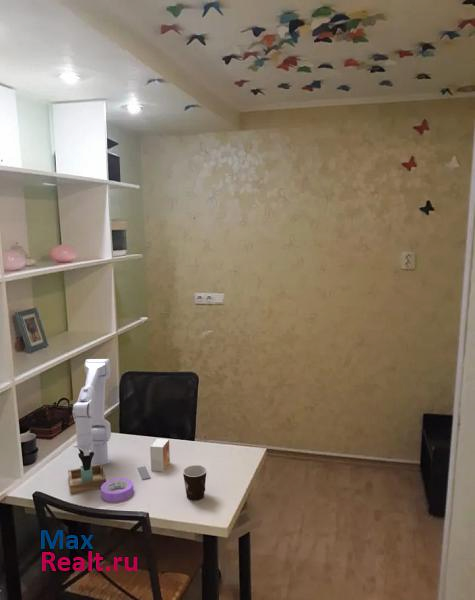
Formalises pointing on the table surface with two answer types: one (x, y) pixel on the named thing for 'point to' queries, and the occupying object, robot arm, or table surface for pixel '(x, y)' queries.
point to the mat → (143, 473)
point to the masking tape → (116, 495)
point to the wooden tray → (80, 486)
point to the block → (86, 475)
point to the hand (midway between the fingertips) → (86, 465)
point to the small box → (160, 454)
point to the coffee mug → (195, 482)
